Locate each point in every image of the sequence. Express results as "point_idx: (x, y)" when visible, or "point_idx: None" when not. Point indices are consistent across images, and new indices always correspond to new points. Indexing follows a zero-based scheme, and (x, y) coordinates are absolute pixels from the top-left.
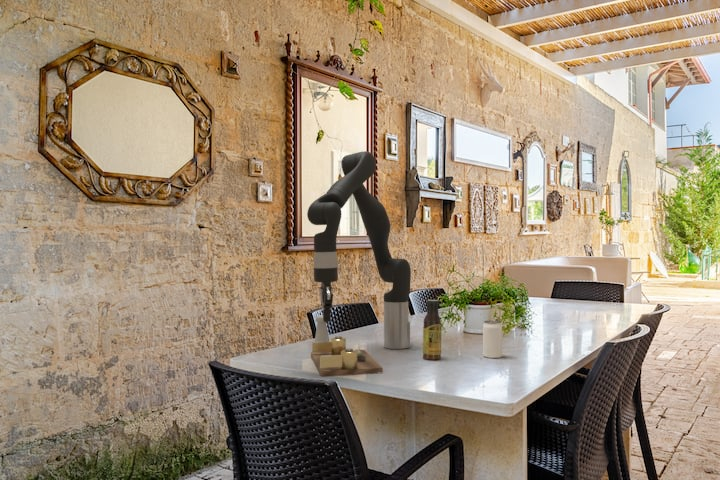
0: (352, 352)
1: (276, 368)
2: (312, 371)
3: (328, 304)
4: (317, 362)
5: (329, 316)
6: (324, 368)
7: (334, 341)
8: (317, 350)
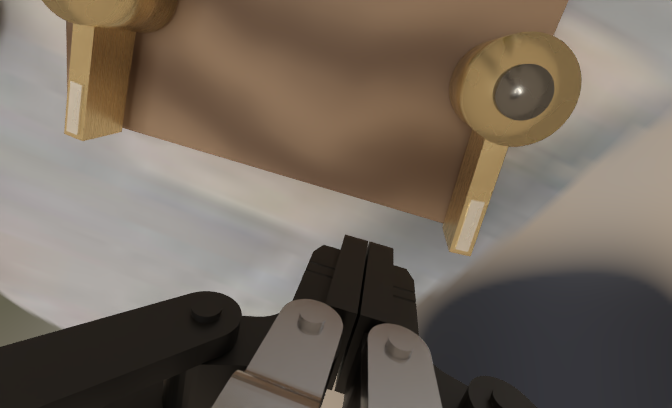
0: (572, 88)
1: (251, 305)
2: (362, 216)
3: (298, 371)
4: (294, 173)
5: (412, 295)
6: (426, 195)
7: (115, 16)
8: (118, 108)
